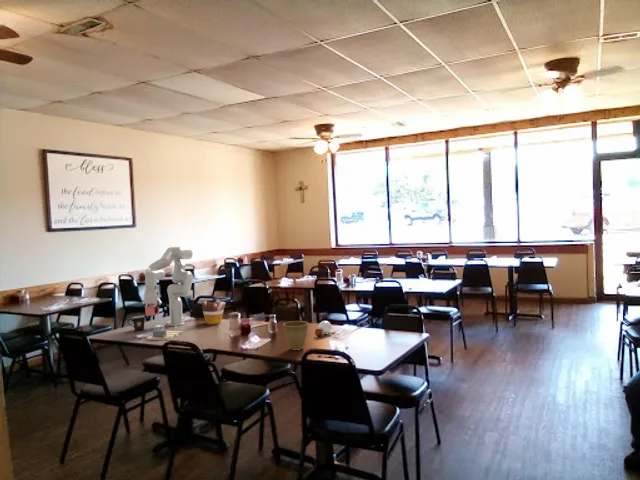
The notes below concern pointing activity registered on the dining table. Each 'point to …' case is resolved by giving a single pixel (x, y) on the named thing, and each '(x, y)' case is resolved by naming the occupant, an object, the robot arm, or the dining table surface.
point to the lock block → (151, 310)
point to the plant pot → (296, 333)
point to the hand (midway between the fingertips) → (152, 312)
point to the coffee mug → (138, 323)
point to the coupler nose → (159, 333)
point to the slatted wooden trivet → (169, 335)
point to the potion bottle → (323, 328)
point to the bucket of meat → (213, 311)
